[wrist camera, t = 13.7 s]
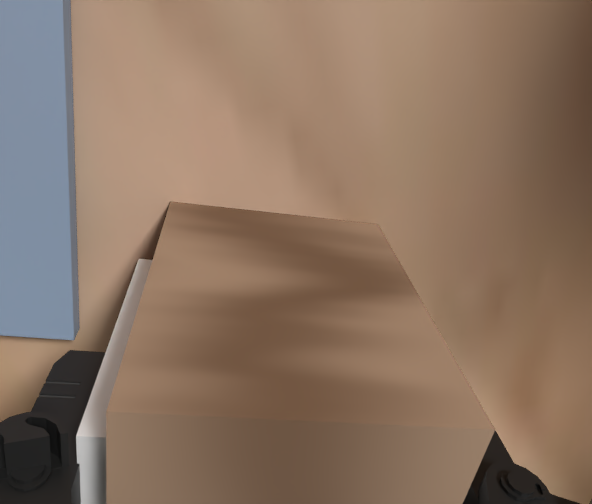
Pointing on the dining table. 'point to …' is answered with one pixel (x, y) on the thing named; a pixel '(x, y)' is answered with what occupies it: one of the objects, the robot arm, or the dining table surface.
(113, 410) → the walnut column
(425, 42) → the dining table surface
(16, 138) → the board
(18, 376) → the dining table surface
